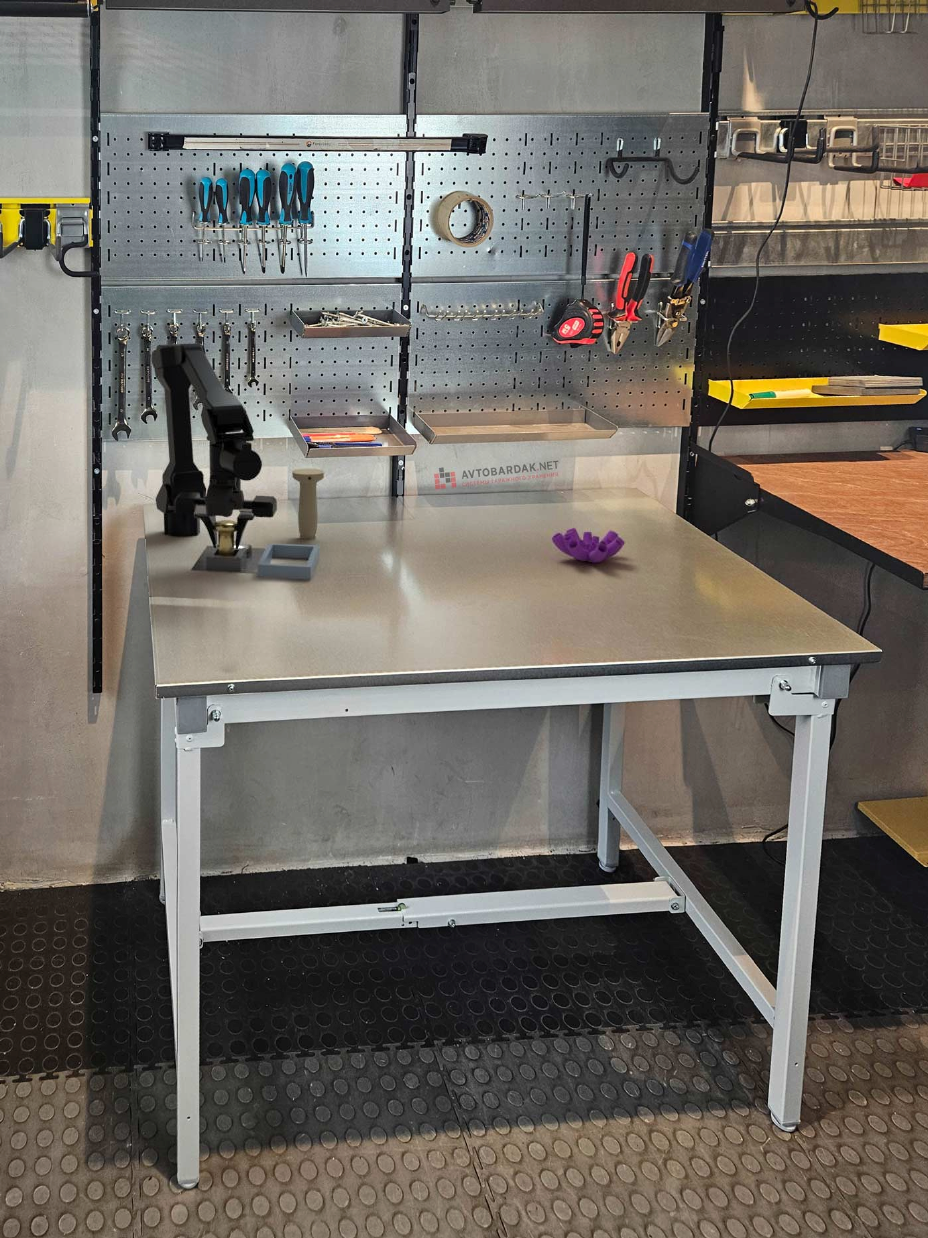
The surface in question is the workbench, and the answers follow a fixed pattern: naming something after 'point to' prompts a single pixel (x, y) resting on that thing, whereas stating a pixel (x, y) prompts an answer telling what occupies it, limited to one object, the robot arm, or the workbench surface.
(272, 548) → the pin tray
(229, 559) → the grey socket base
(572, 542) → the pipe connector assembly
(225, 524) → the pin
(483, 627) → the workbench surface
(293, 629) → the workbench surface
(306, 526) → the handle
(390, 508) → the workbench surface
